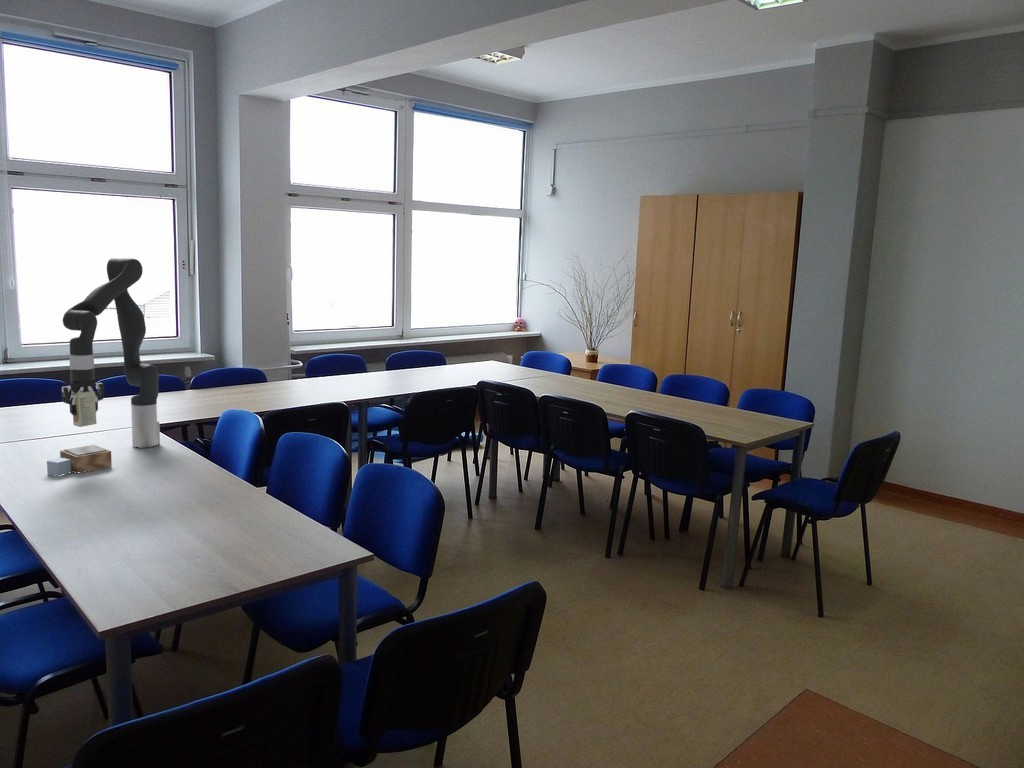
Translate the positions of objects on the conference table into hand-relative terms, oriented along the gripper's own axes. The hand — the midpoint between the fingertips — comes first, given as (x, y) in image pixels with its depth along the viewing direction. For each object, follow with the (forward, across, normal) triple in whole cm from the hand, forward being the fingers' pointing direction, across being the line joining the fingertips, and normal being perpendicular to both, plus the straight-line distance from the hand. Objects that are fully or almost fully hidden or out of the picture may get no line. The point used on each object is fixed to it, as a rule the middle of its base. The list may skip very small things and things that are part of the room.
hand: (84, 413), depth 268 cm
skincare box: (+4, 0, 0) cm, 4 cm away
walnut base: (+20, 0, 0) cm, 20 cm away
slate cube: (+20, +10, +2) cm, 22 cm away
